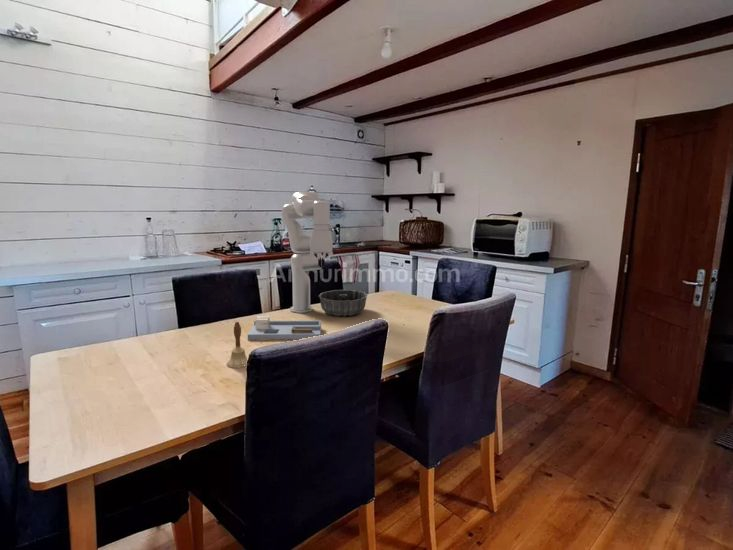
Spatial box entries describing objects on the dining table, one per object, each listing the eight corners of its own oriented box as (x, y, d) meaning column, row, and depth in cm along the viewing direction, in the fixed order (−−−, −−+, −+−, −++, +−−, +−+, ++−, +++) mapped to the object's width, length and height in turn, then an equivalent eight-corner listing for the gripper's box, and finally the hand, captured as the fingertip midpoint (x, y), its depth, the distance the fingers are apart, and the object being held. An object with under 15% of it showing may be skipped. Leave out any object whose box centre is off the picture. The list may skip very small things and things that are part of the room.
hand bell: (255, 362, 146) (253, 321, 143) (237, 370, 139) (235, 327, 136) (239, 357, 150) (237, 317, 147) (221, 364, 143) (219, 323, 140)
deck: (254, 329, 183) (254, 320, 182) (321, 328, 186) (321, 320, 185) (247, 340, 168) (247, 331, 168) (320, 339, 171) (320, 330, 170)
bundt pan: (310, 316, 206) (310, 297, 204) (329, 304, 231) (330, 287, 229) (358, 321, 198) (358, 302, 197) (372, 308, 223) (373, 291, 221)
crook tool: (292, 330, 174) (292, 327, 174) (312, 330, 175) (312, 327, 175) (291, 332, 171) (291, 329, 171) (312, 332, 172) (312, 329, 172)
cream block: (257, 325, 180) (257, 316, 179) (269, 325, 181) (269, 316, 180) (255, 329, 175) (255, 319, 174) (268, 329, 176) (267, 319, 175)
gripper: (337, 227, 184) (337, 266, 188) (305, 227, 183) (305, 266, 186) (337, 229, 177) (337, 268, 180) (304, 228, 176) (304, 268, 179)
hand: (321, 267), depth 183 cm, fingers closed
